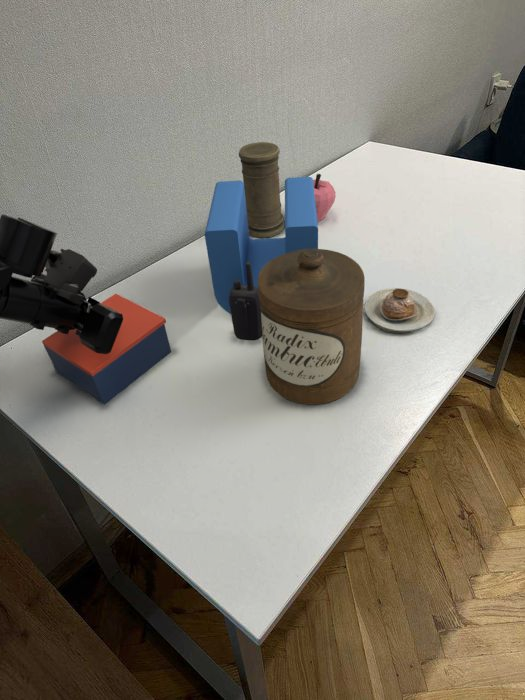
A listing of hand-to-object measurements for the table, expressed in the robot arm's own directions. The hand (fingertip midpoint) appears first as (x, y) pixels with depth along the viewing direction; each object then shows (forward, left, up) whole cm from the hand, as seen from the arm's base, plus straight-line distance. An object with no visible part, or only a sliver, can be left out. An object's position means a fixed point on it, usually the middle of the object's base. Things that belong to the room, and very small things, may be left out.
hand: (113, 321), depth 82 cm
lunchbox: (-2, -1, -7) cm, 8 cm away
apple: (+45, +34, -8) cm, 57 cm away
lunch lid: (-2, -1, -1) cm, 2 cm away
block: (+28, +11, -8) cm, 31 cm away
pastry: (+48, -4, -8) cm, 49 cm away
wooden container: (+29, -13, -8) cm, 33 cm away
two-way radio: (+21, -2, -8) cm, 23 cm away
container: (+33, +34, -8) cm, 48 cm away
